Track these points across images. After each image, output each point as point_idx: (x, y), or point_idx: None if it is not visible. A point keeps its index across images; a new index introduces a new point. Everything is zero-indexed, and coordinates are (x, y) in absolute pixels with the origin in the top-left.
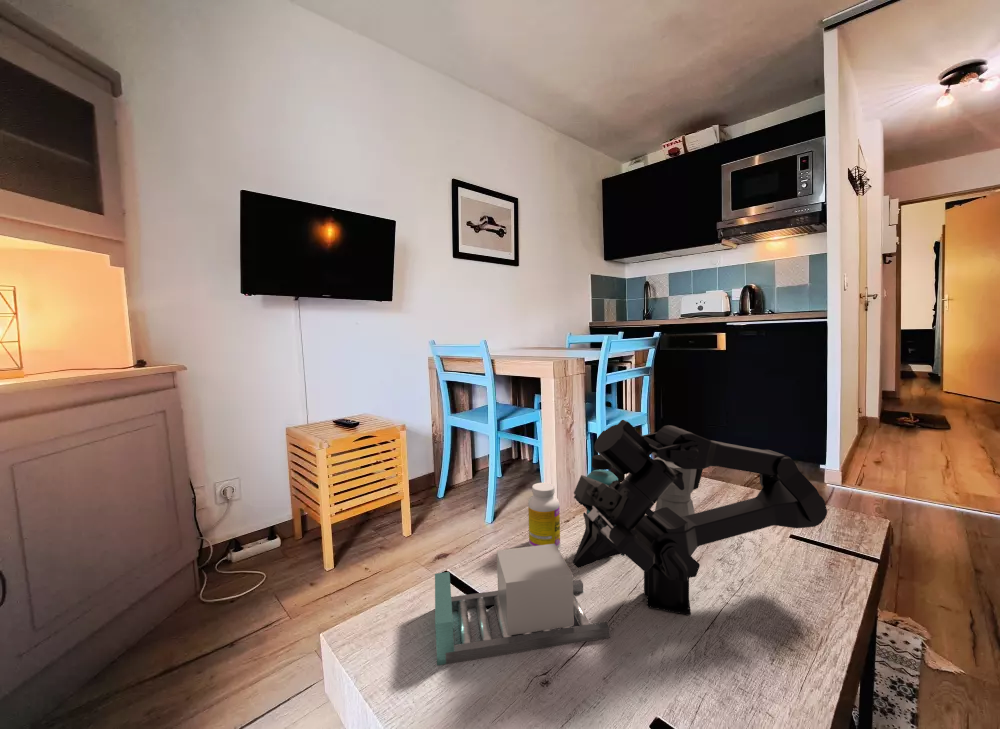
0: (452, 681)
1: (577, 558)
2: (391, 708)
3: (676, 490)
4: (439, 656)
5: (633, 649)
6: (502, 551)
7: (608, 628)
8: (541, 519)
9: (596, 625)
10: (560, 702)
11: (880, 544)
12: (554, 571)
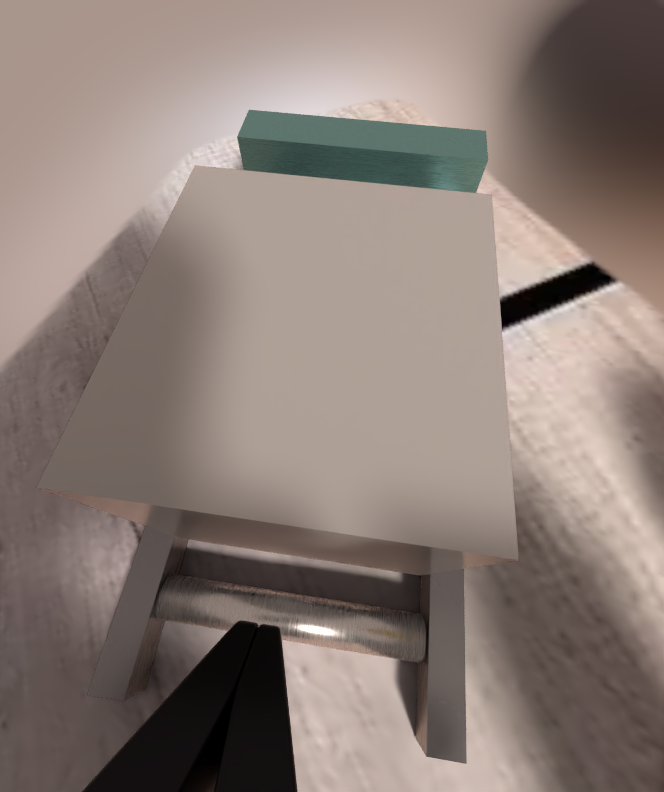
0: None
1: (218, 662)
2: (209, 154)
3: None
4: None
5: (6, 755)
6: (475, 213)
7: (91, 687)
8: None
9: (129, 636)
10: (26, 397)
11: None
12: (144, 384)
